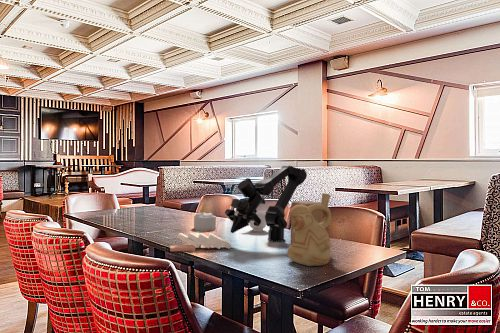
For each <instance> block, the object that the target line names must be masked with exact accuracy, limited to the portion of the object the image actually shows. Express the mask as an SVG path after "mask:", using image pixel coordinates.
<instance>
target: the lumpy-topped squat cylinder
mask: <svg viewBox="0 0 500 333" xmlns="http://www.w3.org/2000/svg"><path fill="white" fill-rule="evenodd" d="M216 221H217V216H216V215H213V212H209V213H208V212H207V213H206V212H205V211H204V212H197V213H196V214H194V216H193V229H194V230H196V231H199V230H200V232H208V231H215V230H216V229H217V228H216V226H217V222H216Z"/></svg>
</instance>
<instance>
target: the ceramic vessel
mask: <svg viewBox="0 0 500 333" xmlns="http://www.w3.org/2000/svg"><path fill="white" fill-rule="evenodd" d="M330 199H331V194H328V193H322V194H321V201H320V203H321V204H313V205H310V206H308V207H307V206H305V205H302V204H299V205H295V206H294V207H292V208H291V207H290V210H289V213H290V225H291V224H292V227H293V228H294V229H293V231H292V240H293V243H292V245H291V244H290V246H289V247H288V249H287V252H286V253H287V254H286V255H287V257H288V259H289V260H290V261H292V262H294V263H296V264H300V265H303V266H307V267H314V266H315V267H316V266H317V267H319V266H323V265H327V264H329V262H330V260H331V252H332V251H331V250H332V249H331V244H332V243H331V240H330V235H329V233H328V231H327V228H328V226H330V223H331V221H332V213H331V210H330V208H329V201H330ZM318 210H320V211H323V214H324V215H323V216H324V218H323V219H322V222H321V223H318V222H317V221H316V220H315V219H314V217H313V215H312V212H314V211H318Z"/></svg>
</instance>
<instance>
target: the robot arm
mask: <svg viewBox="0 0 500 333" xmlns="http://www.w3.org/2000/svg"><path fill="white" fill-rule="evenodd" d="M307 176H308V174H307V170H306V169H305V168H304V169H303V168H298V167H294V166H292V165H282V166H281V168H279V169H278V170H276V171H275V172H274V173H272V175H270V176H269V177H268V178H266V179H263V180H262V179H261V180H260V181H257V182H255V184H254V182H253V181H252V179H251V178H249V177H248V178H245V180H242V181H240V182H239V183H238V185H237V189H238V190H239V192H240V193H241V194H242V195H243V197H244V198H245V199H244V198H243V199H236V198H233V199H232V200H231V203H230V207H232V208H233V209H231V208H227V209H226V210H225V212H224V214H225V216H226V217H227V218H228V219H229V220H230V221H231V222H232V225H231V228H230V233H231V234H234V233H235V232H238V231H240V230H241V229H243V228H244V229H245V227H248V226H250V225H249V222H251V221H254V225H255V226H259V225H260V224H261V219H260V218H259V217H258V215H257V214H256V212H257V211H258V210H257V209H258V207H259V206H260V205H261V204H263V205H265V204H266V201H265V200H266V199H265V197H263V196H267V197H268V196H270V194H271V193H272V192H273V191H274V190H275V189H274V188H275V187H276V186H277V185H278V184H279V183H280V182H282V180H284V179H285V178H286V177H287V184H286V185H285V186H284V189H283V190H282V192H281V194H280V196H279V198H278V200H277V201H276V203H275V205H273V206H272V205H269V206H268V208H267V210H266V212H265V213H266V215H265V220H266V227H268V228H269V229H268V230H267V231H268V234H267V236H268V237H267V240H269V241H271V242H286V239H285V229H286V228H287V227H288V222H287V220H286V219H285V215H286V213H285V211H286V210H285V209H286V208H287V206H288V204H289V203H290V201H291V199H292V197H293V195H294V193H295V191H296V189H297V188H298V187H299V186H300V185H302V184H303V183H304V181H305V180H306V179H307ZM246 198H247V199H246ZM234 208H235V209H234Z"/></svg>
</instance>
